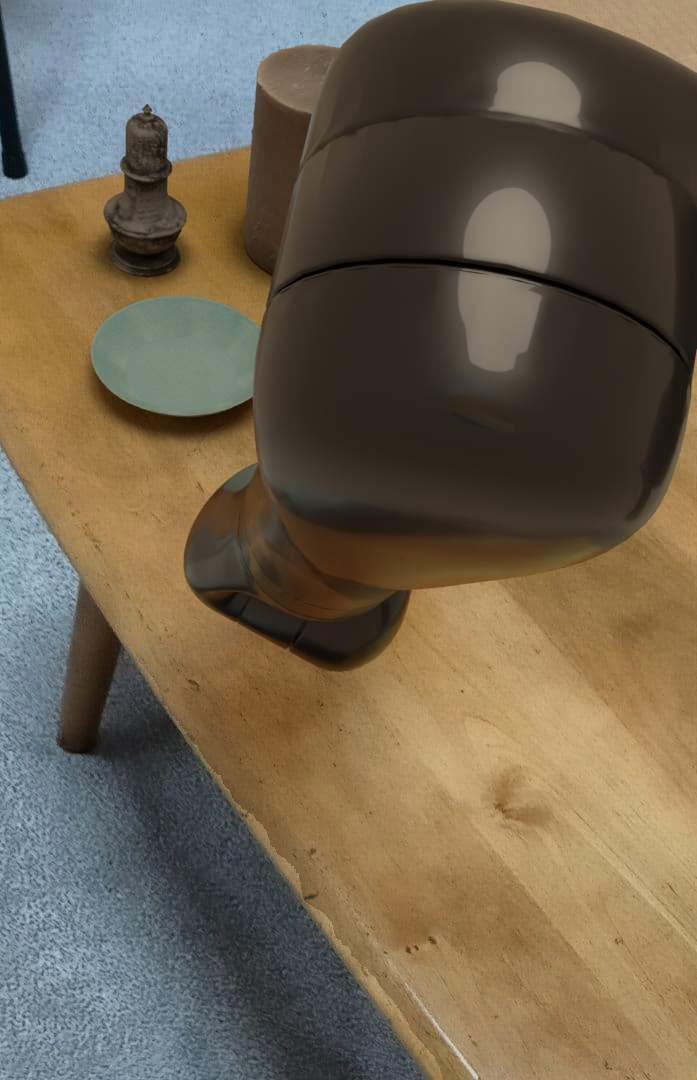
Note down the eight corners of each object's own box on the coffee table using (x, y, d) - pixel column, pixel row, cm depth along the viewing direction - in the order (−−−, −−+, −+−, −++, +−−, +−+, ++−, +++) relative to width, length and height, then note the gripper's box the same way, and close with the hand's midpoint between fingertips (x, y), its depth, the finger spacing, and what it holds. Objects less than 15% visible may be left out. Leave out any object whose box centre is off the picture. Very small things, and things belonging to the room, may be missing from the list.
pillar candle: (388, 276, 93) (425, 92, 82) (266, 294, 90) (287, 104, 78) (340, 202, 99) (368, 20, 87) (223, 216, 95) (237, 29, 84)
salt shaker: (132, 288, 88) (134, 136, 79) (88, 244, 91) (84, 93, 82) (201, 264, 91) (209, 115, 82) (156, 222, 93) (159, 73, 85)
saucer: (136, 460, 77) (137, 434, 75) (63, 345, 83) (61, 318, 81) (301, 410, 82) (305, 385, 80) (220, 305, 88) (222, 279, 86)
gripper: (545, 353, 65) (608, 193, 76) (292, 269, 66) (390, 126, 78) (512, 456, 70) (574, 293, 81) (278, 376, 72) (372, 227, 83)
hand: (484, 212), depth 80 cm, fingers closed on wooden block, 4 cm apart
